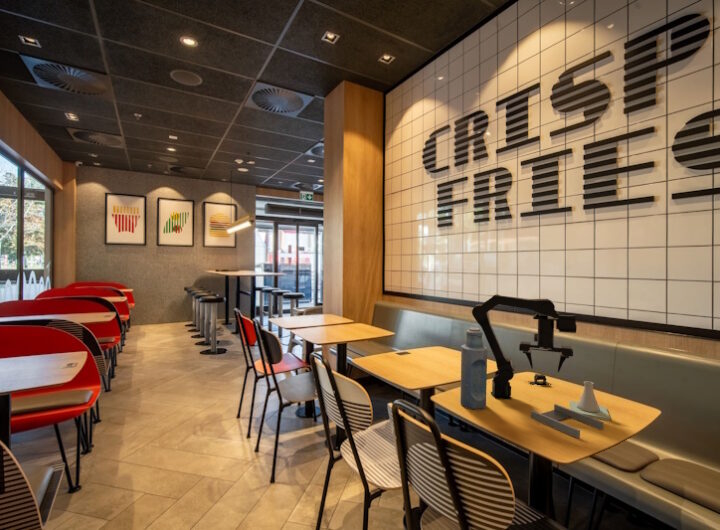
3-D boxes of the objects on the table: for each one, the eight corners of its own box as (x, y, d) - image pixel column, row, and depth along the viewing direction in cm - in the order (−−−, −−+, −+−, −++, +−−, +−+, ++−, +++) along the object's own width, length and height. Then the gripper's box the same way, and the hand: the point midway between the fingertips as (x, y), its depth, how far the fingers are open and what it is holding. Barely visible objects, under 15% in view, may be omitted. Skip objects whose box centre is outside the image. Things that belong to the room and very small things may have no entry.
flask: (604, 411, 136) (604, 384, 136) (591, 414, 133) (592, 386, 133) (585, 404, 143) (585, 378, 142) (572, 406, 140) (573, 380, 139)
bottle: (478, 399, 148) (479, 325, 148) (491, 409, 138) (492, 330, 138) (456, 401, 146) (457, 326, 146) (467, 411, 137) (468, 330, 136)
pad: (571, 413, 135) (571, 411, 135) (569, 402, 146) (569, 400, 146) (610, 420, 130) (610, 418, 130) (605, 408, 140) (605, 406, 140)
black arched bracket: (550, 382, 171) (551, 373, 171) (557, 388, 164) (558, 378, 164) (523, 381, 172) (523, 372, 172) (529, 387, 165) (529, 377, 165)
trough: (530, 417, 131) (531, 410, 131) (555, 410, 138) (555, 404, 138) (578, 438, 116) (578, 430, 116) (603, 429, 123) (603, 422, 123)
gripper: (571, 329, 148) (571, 368, 148) (521, 325, 156) (520, 362, 157) (573, 334, 138) (572, 376, 138) (519, 330, 146) (518, 368, 147)
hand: (545, 370), depth 145 cm, fingers open, 9 cm apart
